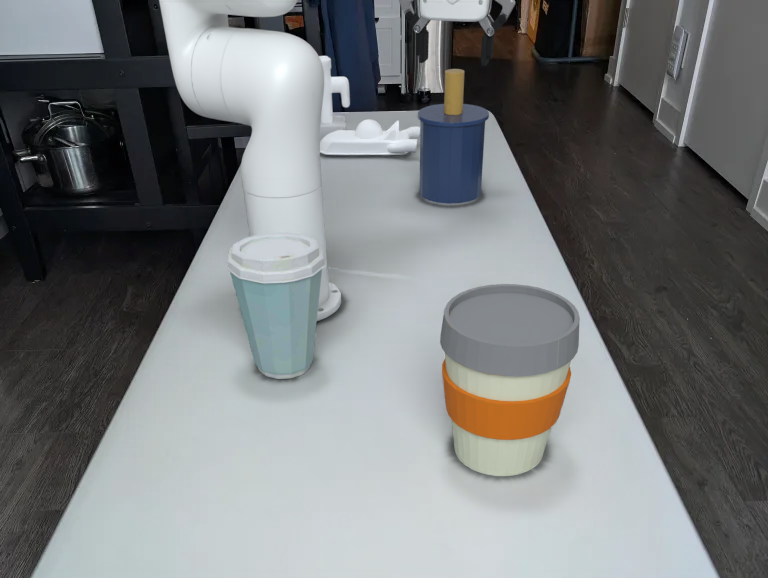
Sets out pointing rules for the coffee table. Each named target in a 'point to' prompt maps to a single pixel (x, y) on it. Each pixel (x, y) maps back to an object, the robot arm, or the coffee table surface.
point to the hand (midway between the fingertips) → (453, 62)
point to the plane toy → (371, 140)
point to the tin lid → (453, 105)
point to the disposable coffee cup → (278, 299)
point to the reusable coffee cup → (506, 373)
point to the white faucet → (331, 86)
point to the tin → (451, 162)
